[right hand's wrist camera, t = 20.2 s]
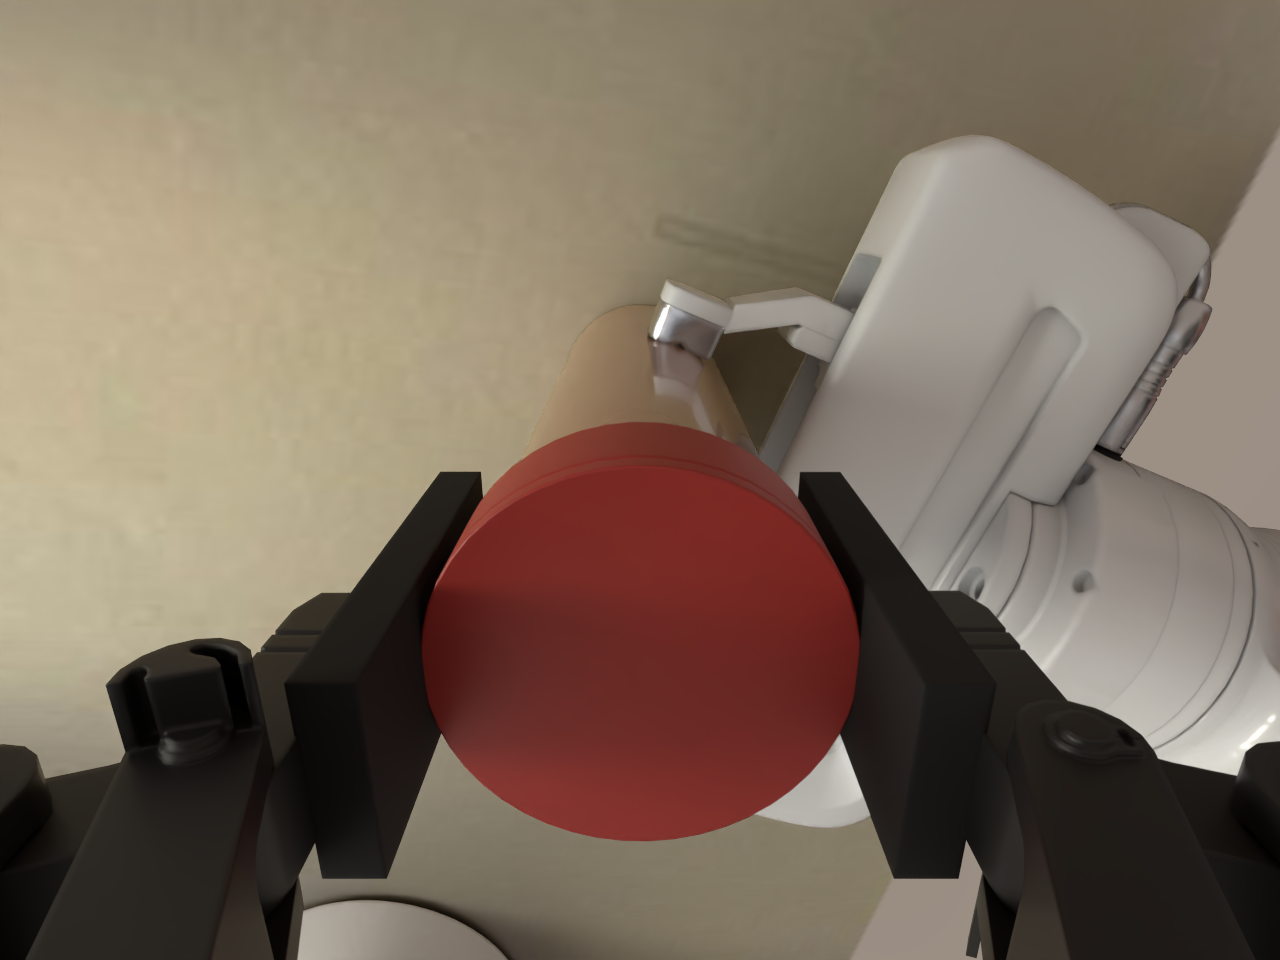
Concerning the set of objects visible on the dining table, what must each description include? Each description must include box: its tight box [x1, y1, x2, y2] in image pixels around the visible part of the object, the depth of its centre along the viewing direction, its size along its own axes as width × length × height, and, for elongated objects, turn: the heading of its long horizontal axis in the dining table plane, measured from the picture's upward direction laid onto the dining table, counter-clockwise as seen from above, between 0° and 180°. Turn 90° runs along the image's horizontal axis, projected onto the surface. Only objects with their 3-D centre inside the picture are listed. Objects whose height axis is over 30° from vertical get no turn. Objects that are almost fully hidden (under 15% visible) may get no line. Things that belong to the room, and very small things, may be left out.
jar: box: [520, 305, 761, 461], centre depth 19 cm, size 5×5×17 cm
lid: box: [421, 422, 860, 841], centre depth 11 cm, size 6×6×2 cm
